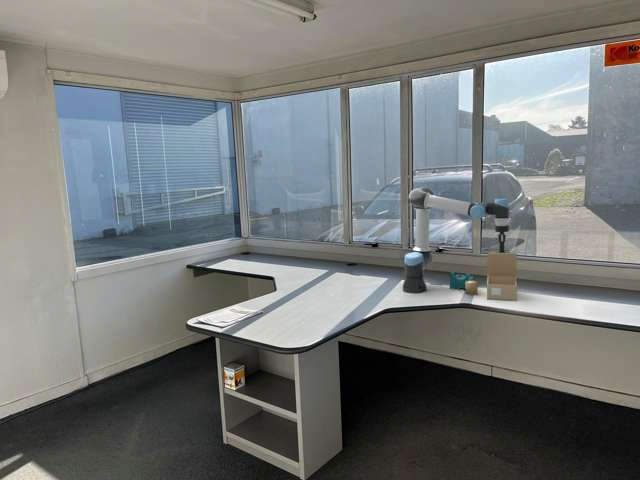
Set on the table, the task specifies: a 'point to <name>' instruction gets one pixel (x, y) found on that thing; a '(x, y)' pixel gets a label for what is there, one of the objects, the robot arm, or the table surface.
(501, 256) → the lid
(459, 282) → the teal irregular block
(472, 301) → the table surface
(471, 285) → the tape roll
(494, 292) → the carton
